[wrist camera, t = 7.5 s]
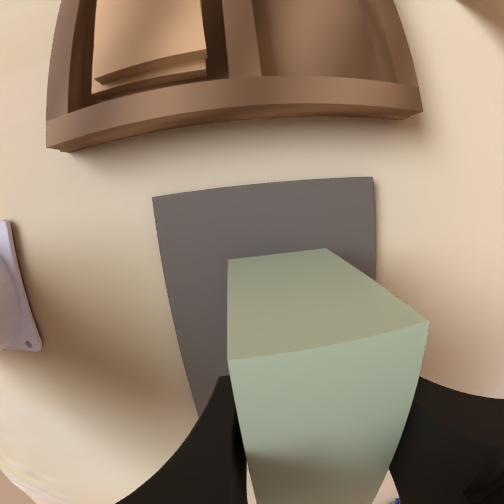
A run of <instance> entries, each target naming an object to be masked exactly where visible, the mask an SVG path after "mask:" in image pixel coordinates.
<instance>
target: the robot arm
mask: <svg viewBox="0 0 504 504" xmlns="http://www.w3.org/2000/svg"><path fill="white" fill-rule="evenodd" d="M30 343H31V344H30ZM42 347H43V344H42V341H41V338H40V336H39V333H38V330H37V328H36V325H35V322H34V319H33V316H32V313H31V310H30V307H29V303H28V300H27V297H26V293H25V290H24V286H23V282H22V278H21V274H20V270H19V266H18V262H17V257H16V252H15V247H14V242H13V236H12V231H11V225H10V223H9V221H8V220H1V221H0V351H1V350H2V349H12V350H24V351H40V350H41V348H42ZM389 470H390V473H391V475H392V478H393V480H394V483H395V486H396V488H397V491H398V494H399V497H400V500H401V503H402V504H504V399H495V398H487V397H481V396H476V395H471V394H467V393H463V392H459V391H456V390H453V389H450V388H447V387H444V386H441V385H438V384H436V383H434V382H431V381H429V380H427V379H424V378H422V377H420V376H419V379H418V383H417V387H416V390H415V394H414V397H413V401H412V404H411V408H410V411H409V414H408V417H407V420H406V423H405V426H404V429H403V432H402V435H401V438H400V441H399V443H398V446H397V449H396V451H395V454H394V456H393V459H392V461H391V464H390V466H389ZM246 477H247V458H246V454H245V449H244V444H243V440H242V435H241V430H240V425H239V420H238V415H237V410H236V405H235V400H234V394H233V389H232V384H231V378H230V375H227V376H220V377H219V378H218V379H217V382H216V385H215V387H214V390H213V392H212V394H211V397H210V399H209V401H208V403H207V405H206V407H205V409H204V410H203V412H202V414H201V416H200V418H199V419H198V421H197V423H196V424H195V426H194V427H193V429H192V430H191V432H190V434H189V435H188V437H187V438H186V439H185V441H184V442H183V443H182V445H181V446H180V447H179V448H178V450H177V451H176V452H175V453H174V455H173V456H172V457H171V458H170V459H169V460H168V461H167V462H166V463H165V464H164V465H163V466H162V467H161V469H159V470H158V471H157V472H156V473H155V474H154V475H153V476H152V477H151V478H150V479H148V480H147V481H146V482H145V483H144V484H142V485H141V486H140V487H139V488H137V489H136V490H135V491H134V492H132V493H131V494H130V495H128V496H127V497H125V498H124V499H122V500H120V501H119V502H117V503H116V504H248V502H247V488H246Z"/></svg>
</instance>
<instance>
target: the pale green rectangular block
mask: <svg viewBox="0 0 504 504" xmlns="http://www.w3.org/2000/svg"><path fill="white" fill-rule="evenodd" d="M429 325H430V320H429V319H427V318H426V317H425V316H423V315H422V314H421V313H419V312H418V311H417V310H415V309H414V308H412V307H411V306H410V305H408V304H407V303H405V302H404V301H403V300H401V299H400V298H398V297H397V296H396V295H394V294H393V293H391V292H390V291H389V290H387V289H386V288H384V287H383V286H381V285H380V284H379V283H377V282H376V281H374V280H373V279H371V278H370V277H368V276H367V275H365V274H364V273H363V272H361V271H360V270H358V269H357V268H355V267H354V266H352V265H351V264H349V263H348V262H346V261H345V260H343V259H342V258H340V257H339V256H337V255H336V254H334V253H333V252H331V251H330V250H328V249H327V248H322V249H314V250H305V251H297V252H289V253H280V254H272V255H263V256H254V257H246V258H237V259H229V260H228V279H227V361H228V367H229V373H230V378H231V384H232V389H233V394H234V400H235V405H236V410H237V415H238V420H239V425H240V430H241V435H242V440H243V444H244V449H245V454H246V458H247V463H248V467H249V472H250V476H251V480H252V485H253V489H254V493H255V497H256V502H257V504H372V502H373V500H374V498H375V496H376V494H377V492H378V490H379V488H380V486H381V484H382V482H383V480H384V477H385V475H386V473H387V471H388V468H389V466H390V464H391V461H392V459H393V456H394V454H395V451H396V449H397V446H398V443H399V441H400V438H401V435H402V432H403V429H404V426H405V423H406V420H407V417H408V414H409V411H410V408H411V404H412V401H413V397H414V394H415V390H416V387H417V383H418V379H419V375H420V371H421V366H422V362H423V357H424V352H425V347H426V342H427V337H428V331H429Z"/></svg>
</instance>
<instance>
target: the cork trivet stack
mask: <svg viewBox="0 0 504 504" xmlns="http://www.w3.org/2000/svg"><path fill="white" fill-rule="evenodd" d="M206 58H208V56H207V49H206V42H205V35H204V26H203V9H202V0H97V6H96V17H95V32H94V52H93V66H92V95H94V96H95V97H97V98H99V99H102V98H105V97H109V96H112V95H116V94H120V93H123V92H127V91H131V90H136V89H140V88H144V87H149V86H154V85H159V84H164V83H169V82H175V81H181V80H187V79H194V78H201V77H207V68H206Z"/></svg>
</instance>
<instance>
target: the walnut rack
mask: <svg viewBox="0 0 504 504" xmlns="http://www.w3.org/2000/svg"><path fill="white" fill-rule="evenodd" d="M96 6H97V0H62V1H61V5H60V9H59V13H58V18H57V23H56V27H55V33H54V38H53V44H52V51H51V58H50V67H49V76H48V88H47V106H46V148H52V149H58V150H60V152H67V153H69V152H72V151H75V150H79V149H82V148H86V147H89V146H93V145H97V144H101V143H105V142H109V141H113V140H117V139H121V138H125V137H130V136H135V135H139V134H144V133H149V132H154V131H160V130H165V129H171V128H177V127H183V126H190V125H197V124H204V123H212V122H221V121H230V120H241V119H253V118H268V117H289V116H350V117H371V118H385V119H397V120H402V119H405V118H408V117H409V116H410V115H414V114H417V113H420V112H423V108H422V102H421V97H420V92H419V87H418V82H417V78H416V74H415V69H414V65H413V61H412V57H411V54H410V50H409V47H408V43H407V40H406V36H405V33H404V30H403V27H402V24H401V21H400V18H399V15H398V12H397V10H396V7H395V4H394V2H393V0H202V9H203V26H204V35H205V42H206V49H207V56H208V58H206V68H207V77H201V78H194V79H187V80H181V81H175V82H169V83H164V84H159V85H154V86H149V87H144V88H140V89H136V90H131V91H127V92H123V93H120V94H116V95H112V96H109V97H105V98H102V99H99V98H97V97H95V96H94V95H92V66H93V52H94V32H95V17H96Z"/></svg>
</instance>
